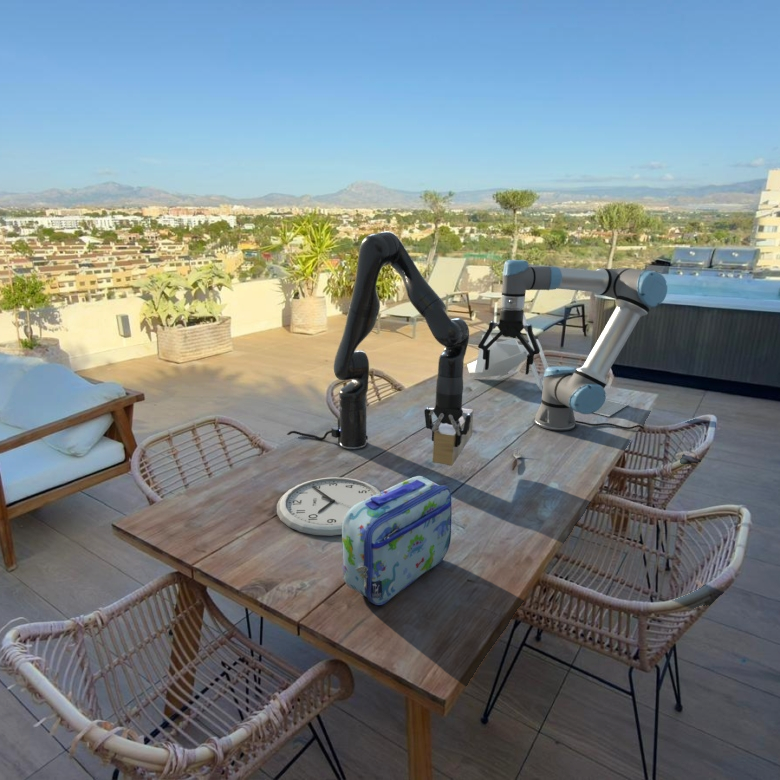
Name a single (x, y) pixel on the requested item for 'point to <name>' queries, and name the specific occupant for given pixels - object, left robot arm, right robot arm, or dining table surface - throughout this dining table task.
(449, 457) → the bar
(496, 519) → the dining table surface
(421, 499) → the lunch box
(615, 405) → the invitation card
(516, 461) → the fork
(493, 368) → the white plastic object
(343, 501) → the wall clock
